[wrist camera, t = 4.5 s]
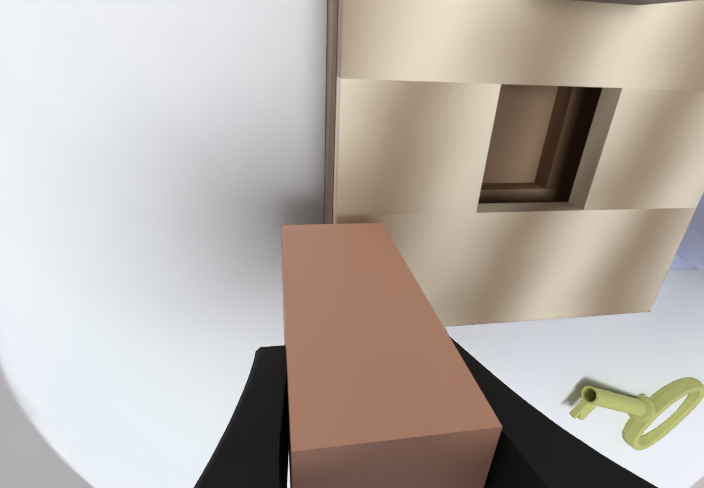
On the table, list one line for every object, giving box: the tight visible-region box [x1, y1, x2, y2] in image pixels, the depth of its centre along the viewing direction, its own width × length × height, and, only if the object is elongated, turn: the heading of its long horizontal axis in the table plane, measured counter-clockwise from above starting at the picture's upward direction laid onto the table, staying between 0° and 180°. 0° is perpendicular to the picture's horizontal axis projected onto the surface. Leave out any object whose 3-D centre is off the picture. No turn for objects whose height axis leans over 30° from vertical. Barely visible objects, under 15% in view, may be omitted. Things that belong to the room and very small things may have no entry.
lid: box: [333, 0, 704, 327], centre depth 15 cm, size 16×16×4 cm
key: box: [570, 378, 704, 450], centre depth 31 cm, size 7×12×2 cm, turn 80°
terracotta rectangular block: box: [281, 223, 502, 488], centre depth 11 cm, size 4×4×8 cm
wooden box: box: [324, 0, 603, 224], centre depth 18 cm, size 16×16×3 cm
